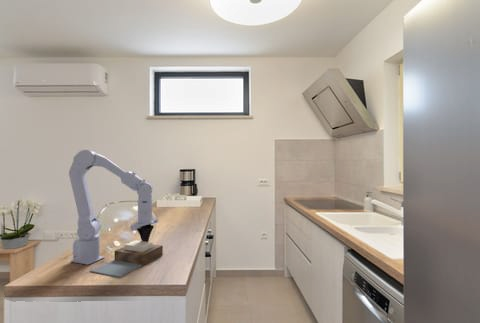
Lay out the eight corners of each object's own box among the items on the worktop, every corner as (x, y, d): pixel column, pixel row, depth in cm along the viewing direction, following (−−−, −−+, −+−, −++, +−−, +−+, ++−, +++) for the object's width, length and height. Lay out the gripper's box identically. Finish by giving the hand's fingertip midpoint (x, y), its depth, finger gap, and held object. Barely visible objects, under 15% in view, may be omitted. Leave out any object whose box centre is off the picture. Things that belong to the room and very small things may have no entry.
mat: (90, 271, 95) (90, 270, 95) (114, 261, 105) (114, 260, 105) (120, 277, 90) (120, 276, 90) (142, 265, 100) (142, 264, 100)
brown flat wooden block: (114, 260, 105) (114, 250, 105) (136, 251, 116) (136, 242, 116) (142, 265, 100) (142, 255, 100) (162, 255, 111) (162, 245, 111)
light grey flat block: (124, 249, 106) (124, 244, 106) (135, 244, 112) (135, 240, 112) (142, 252, 103) (142, 246, 103) (152, 247, 109) (152, 242, 109)
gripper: (140, 215, 103) (140, 249, 103) (163, 208, 117) (163, 239, 117) (126, 213, 106) (126, 247, 106) (150, 207, 119) (150, 237, 119)
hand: (145, 243), depth 111 cm, fingers closed
